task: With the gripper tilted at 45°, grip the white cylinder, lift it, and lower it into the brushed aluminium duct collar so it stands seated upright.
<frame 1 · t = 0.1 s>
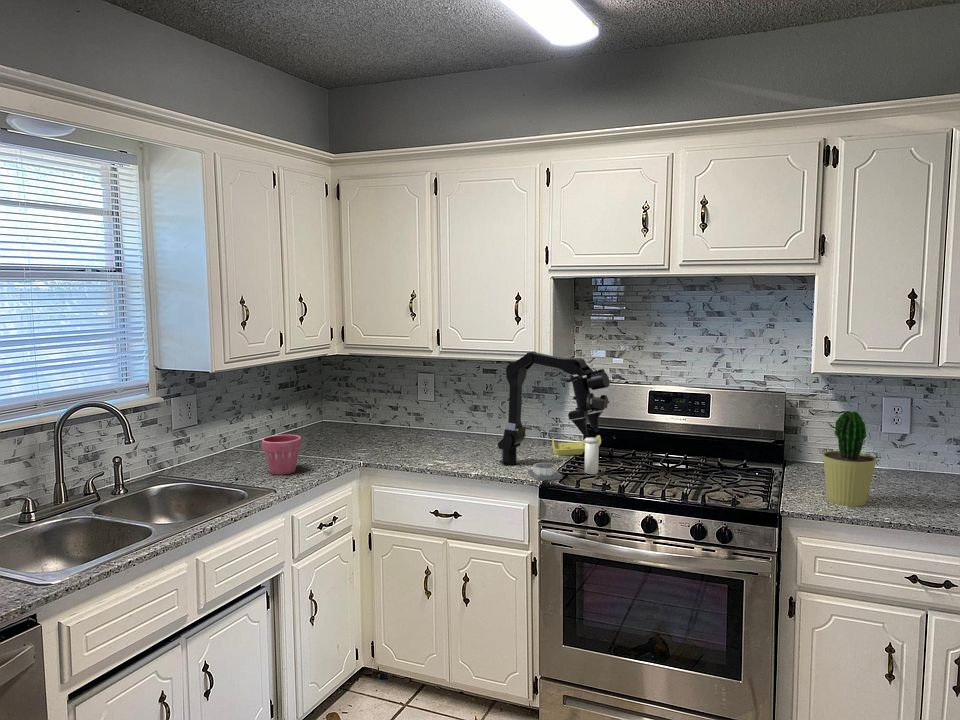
hand: (591, 434, 261), 15 cm above the worktop, tool pointing down, fingers open, 9 cm apart
plastic component: (575, 454, 299), on the worktop
white cylinder: (591, 473, 267), on the worktop
plant pot: (282, 472, 269), on the worktop
duct collar: (544, 476, 262), on the worktop
potted cactus: (846, 501, 233), on the worktop
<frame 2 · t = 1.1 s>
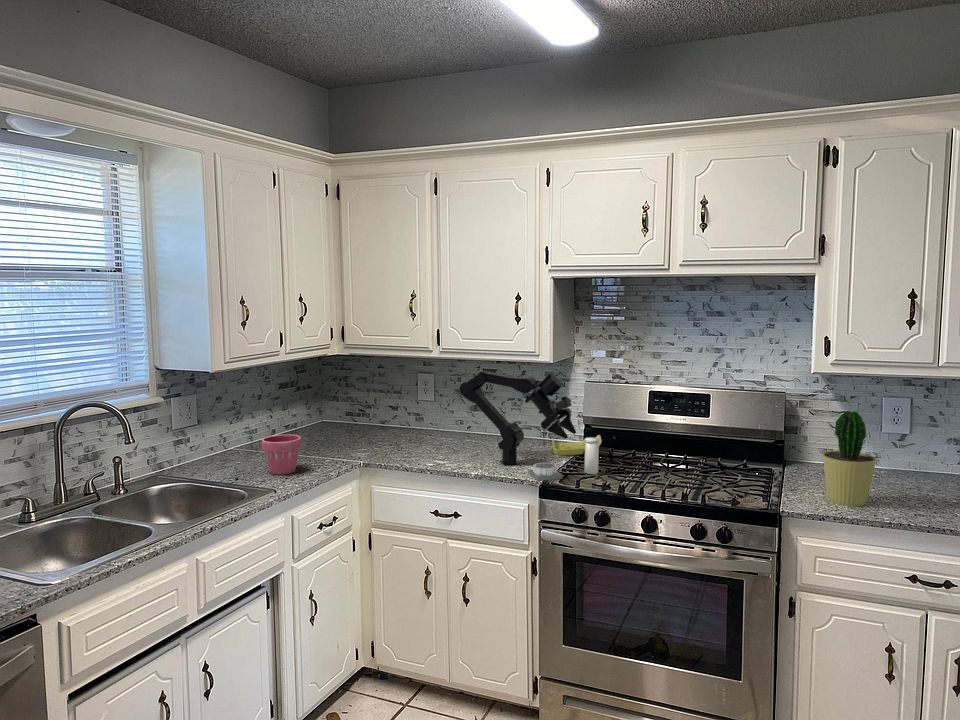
hand: (571, 435, 269), 13 cm above the worktop, tool tilted 45°, fingers open, 9 cm apart
nothing on the worktop moved.
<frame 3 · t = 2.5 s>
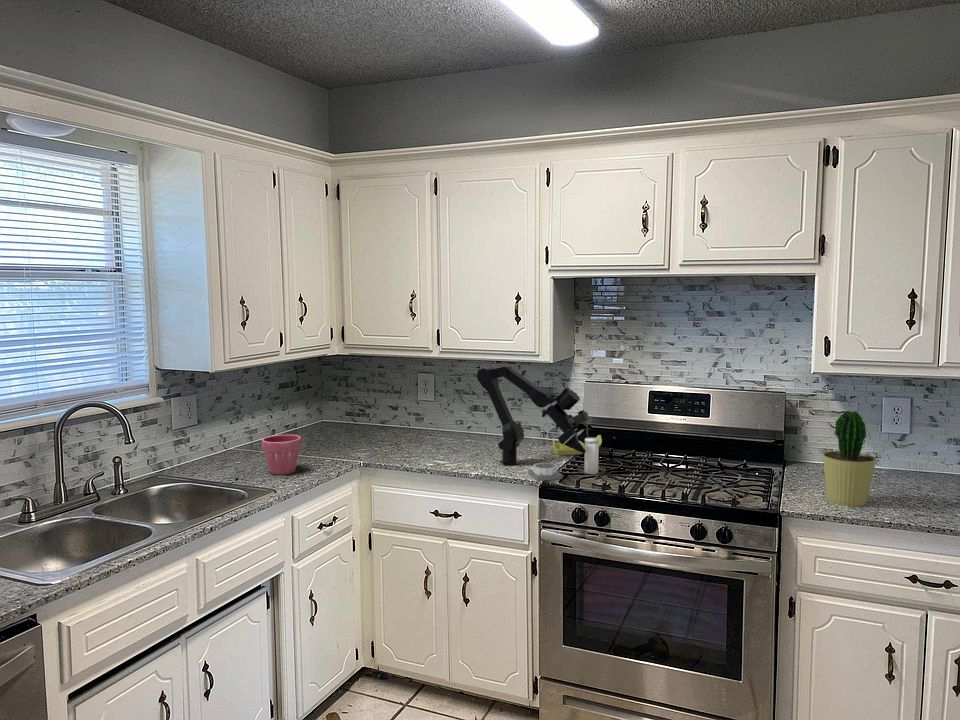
hand: (588, 450, 266), 9 cm above the worktop, tool tilted 45°, fingers open, 9 cm apart
nothing on the worktop moved.
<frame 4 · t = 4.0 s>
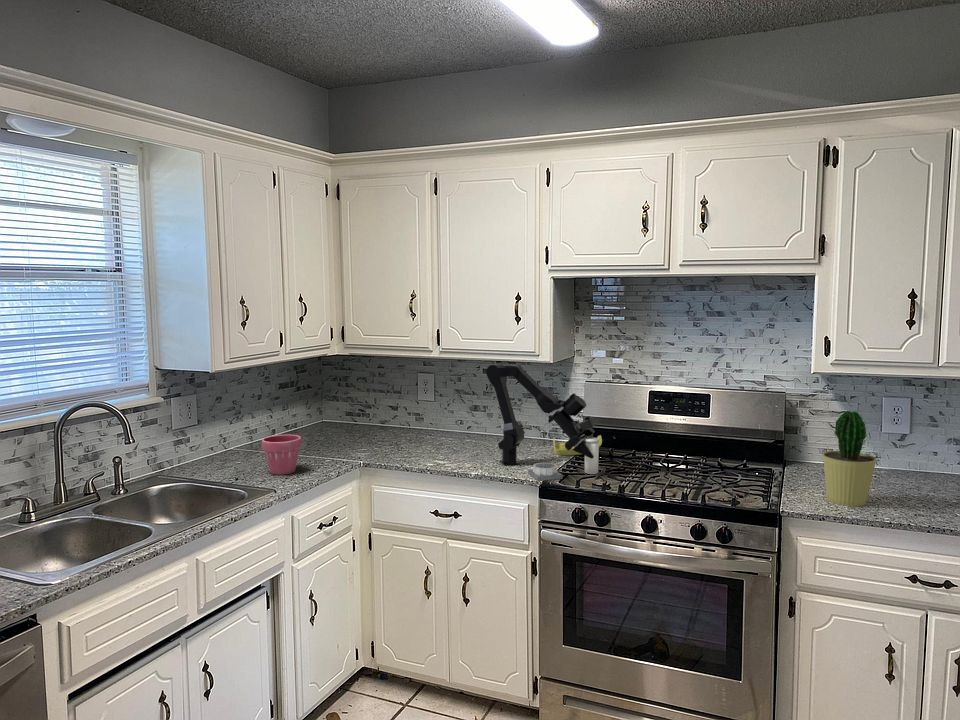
hand: (595, 456, 265), 7 cm above the worktop, tool tilted 45°, fingers closed on white cylinder, 5 cm apart
white cylinder: (591, 473, 267), on the worktop, touching gripper
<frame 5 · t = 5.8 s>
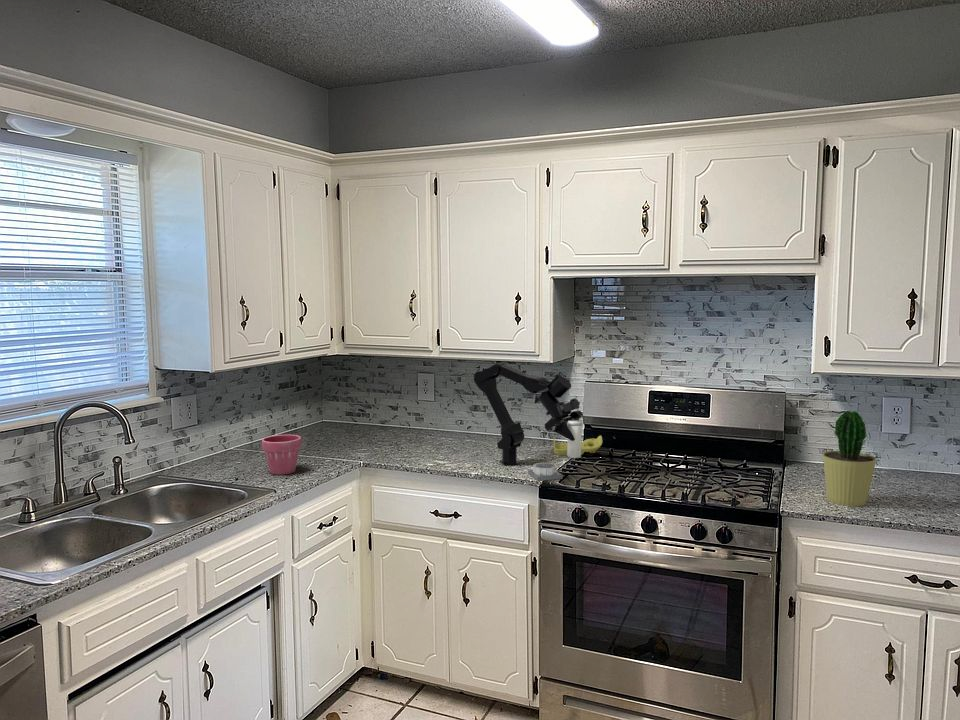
hand: (577, 439, 261), 14 cm above the worktop, tool tilted 45°, fingers closed on white cylinder, 5 cm apart
white cylinder: (574, 456, 263), point 7 cm above the worktop, touching gripper
everything else where it was.
when the fingers open (9 cm above the worktop, at t = 8.1 s): white cylinder stays where it is, resting on duct collar.
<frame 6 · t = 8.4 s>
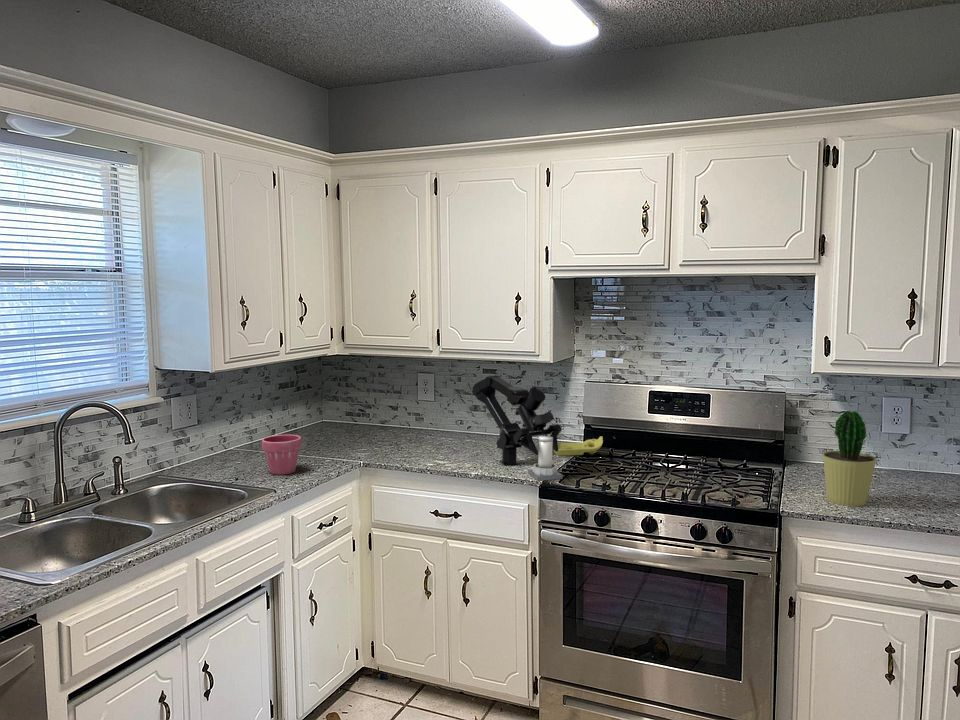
hand: (547, 452, 260), 9 cm above the worktop, tool tilted 45°, fingers open, 9 cm apart
white cylinder: (544, 472, 262), point 2 cm above the worktop, touching duct collar
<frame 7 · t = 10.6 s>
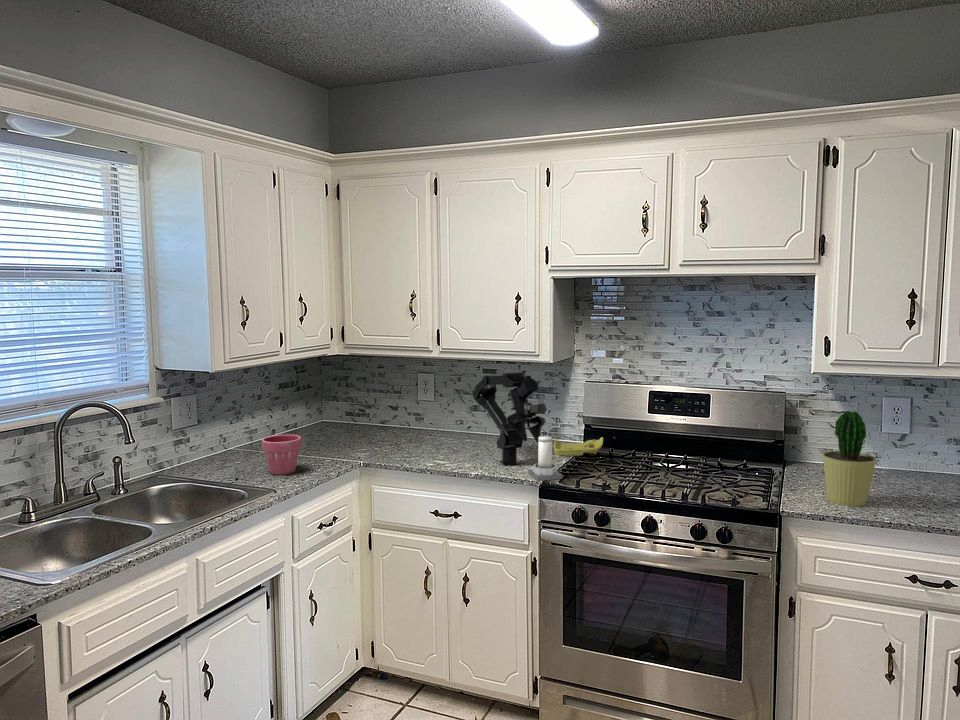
hand: (532, 441, 266), 12 cm above the worktop, tool tilted 30°, fingers open, 9 cm apart
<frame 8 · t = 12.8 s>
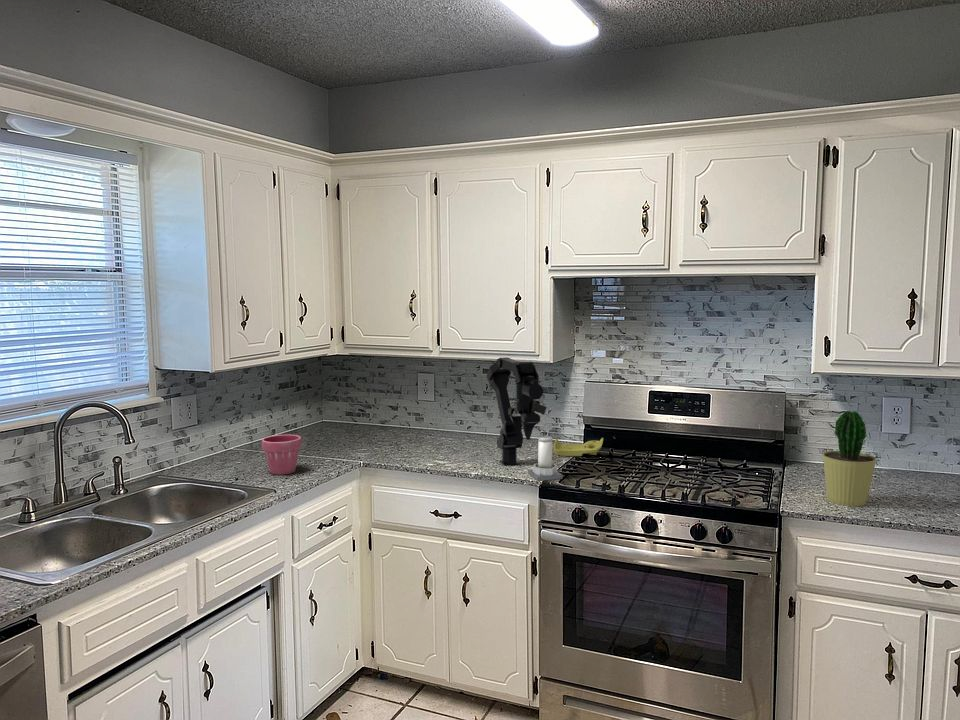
hand: (523, 437, 268), 13 cm above the worktop, tool pointing down, fingers open, 9 cm apart
at the end: white cylinder 0.0 cm off-centre on the duct collar, point 1.5 cm above the duct collar's base; white cylinder tilted 0°; the gripper is holding nothing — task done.
